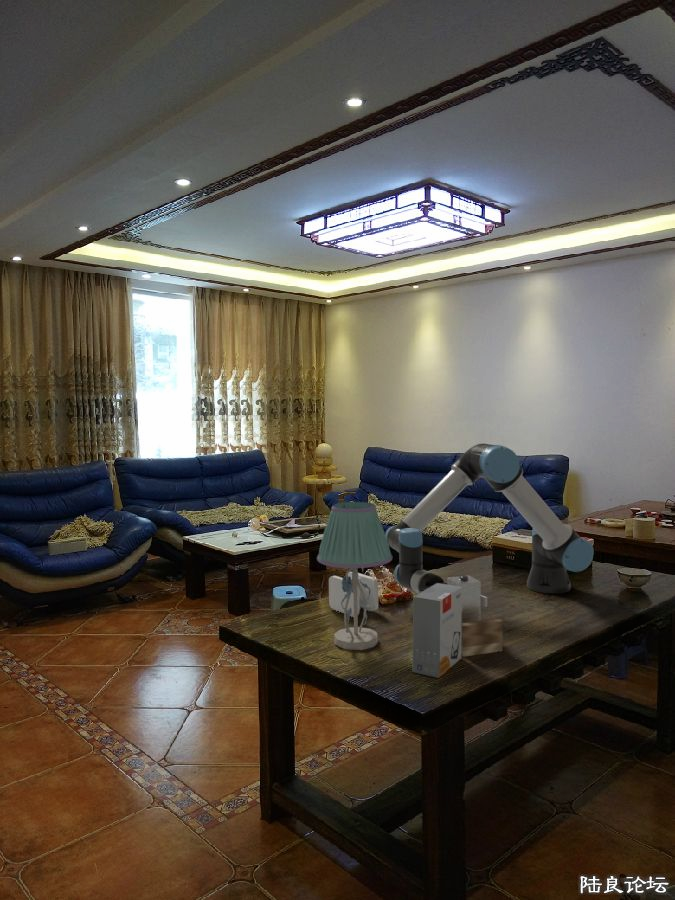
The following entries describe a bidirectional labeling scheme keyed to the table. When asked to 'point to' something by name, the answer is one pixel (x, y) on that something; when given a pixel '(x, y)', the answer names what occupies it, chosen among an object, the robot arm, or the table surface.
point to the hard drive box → (437, 629)
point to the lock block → (468, 597)
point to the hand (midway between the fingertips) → (474, 604)
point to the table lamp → (354, 561)
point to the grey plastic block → (338, 595)
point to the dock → (481, 637)
